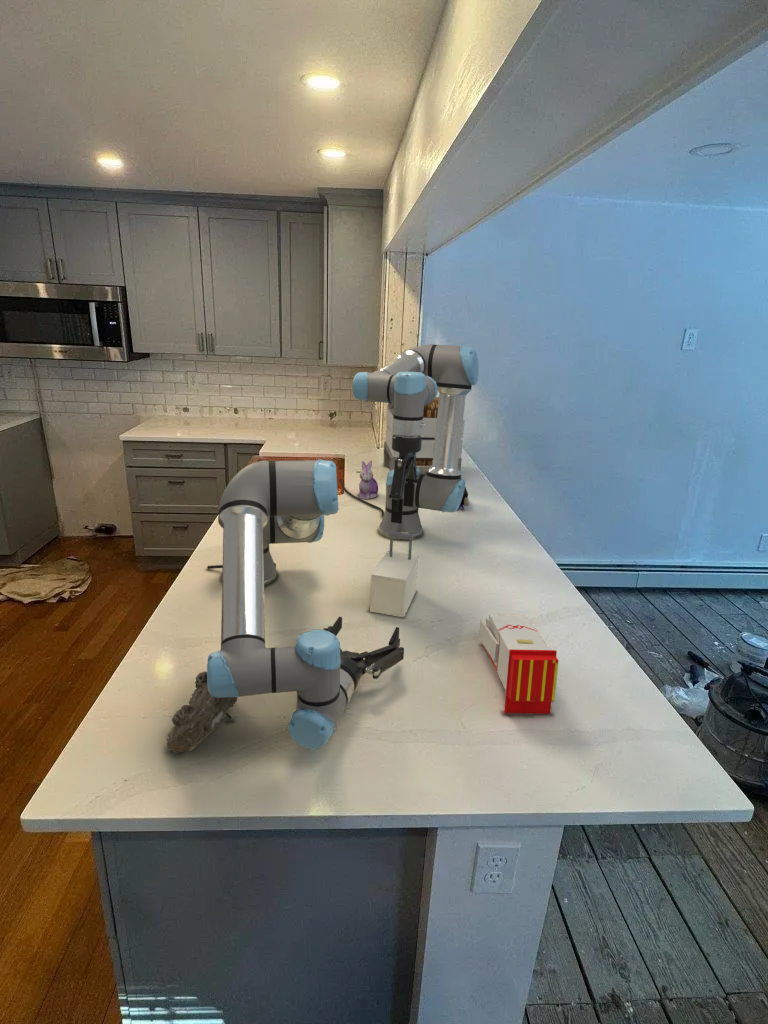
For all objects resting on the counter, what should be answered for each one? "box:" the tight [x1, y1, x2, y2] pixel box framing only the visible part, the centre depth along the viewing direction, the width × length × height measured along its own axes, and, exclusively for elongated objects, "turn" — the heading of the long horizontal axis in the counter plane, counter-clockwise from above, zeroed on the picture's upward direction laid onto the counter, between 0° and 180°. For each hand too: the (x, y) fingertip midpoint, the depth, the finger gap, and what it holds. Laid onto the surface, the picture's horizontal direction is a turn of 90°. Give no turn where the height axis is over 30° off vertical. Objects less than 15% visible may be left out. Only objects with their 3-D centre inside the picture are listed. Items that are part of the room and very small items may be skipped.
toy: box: [477, 613, 560, 715], centre depth 124 cm, size 12×13×30 cm
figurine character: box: [459, 486, 470, 511], centre depth 230 cm, size 7×8×15 cm
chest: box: [369, 559, 419, 618], centre depth 152 cm, size 15×9×10 cm, turn 165°
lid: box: [370, 531, 420, 583], centre depth 150 cm, size 16×9×8 cm, turn 165°
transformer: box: [383, 396, 465, 473], centre depth 268 cm, size 34×33×41 cm
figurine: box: [358, 460, 379, 500], centre depth 236 cm, size 9×10×15 cm
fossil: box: [166, 671, 239, 754], centre depth 106 cm, size 22×10×15 cm
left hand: (368, 627), depth 129 cm, fingers open, 13 cm apart
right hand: (402, 514), depth 150 cm, fingers open, 13 cm apart
